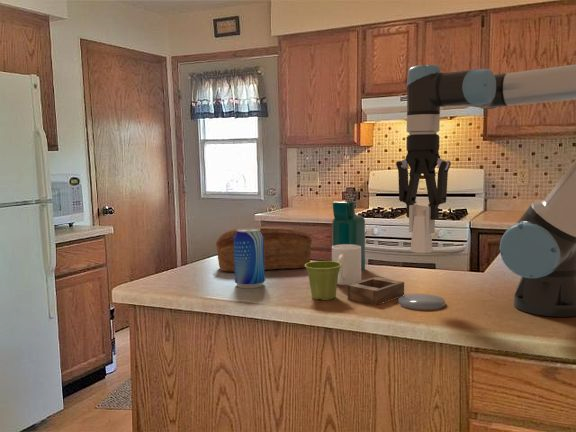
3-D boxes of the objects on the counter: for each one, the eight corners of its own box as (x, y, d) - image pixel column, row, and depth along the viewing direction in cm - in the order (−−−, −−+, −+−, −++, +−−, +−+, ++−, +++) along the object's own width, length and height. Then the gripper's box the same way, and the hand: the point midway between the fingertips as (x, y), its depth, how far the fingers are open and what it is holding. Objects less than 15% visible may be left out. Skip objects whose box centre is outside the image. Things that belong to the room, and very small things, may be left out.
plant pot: (315, 304, 135) (314, 269, 134) (299, 295, 144) (298, 262, 143) (348, 299, 139) (348, 265, 138) (331, 291, 147) (330, 259, 146)
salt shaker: (405, 251, 132) (406, 206, 131) (417, 248, 136) (417, 204, 134) (426, 254, 128) (426, 207, 127) (437, 250, 132) (438, 205, 131)
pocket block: (404, 295, 142) (404, 282, 141) (376, 305, 133) (376, 291, 133) (375, 289, 148) (375, 276, 147) (347, 298, 139) (347, 285, 139)
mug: (354, 289, 148) (353, 252, 147) (324, 287, 151) (324, 250, 150) (364, 279, 159) (364, 244, 158) (336, 278, 162) (336, 243, 161)
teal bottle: (344, 266, 178) (343, 198, 176) (367, 268, 174) (367, 199, 171) (328, 271, 171) (327, 201, 168) (352, 274, 166) (351, 202, 163)
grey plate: (453, 303, 134) (453, 299, 133) (429, 313, 126) (429, 308, 126) (414, 295, 141) (414, 291, 141) (389, 304, 133) (389, 300, 133)
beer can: (271, 284, 155) (269, 229, 153) (249, 290, 149) (247, 232, 147) (250, 280, 161) (249, 226, 159) (229, 286, 155) (227, 230, 153)
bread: (315, 269, 175) (314, 227, 173) (217, 274, 170) (216, 231, 168) (307, 262, 187) (306, 222, 185) (216, 266, 182) (215, 226, 180)
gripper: (464, 132, 125) (462, 233, 128) (400, 135, 137) (400, 227, 140) (448, 132, 120) (446, 237, 123) (383, 134, 132) (383, 230, 135)
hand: (421, 232), depth 131 cm, fingers closed on salt shaker, 4 cm apart
